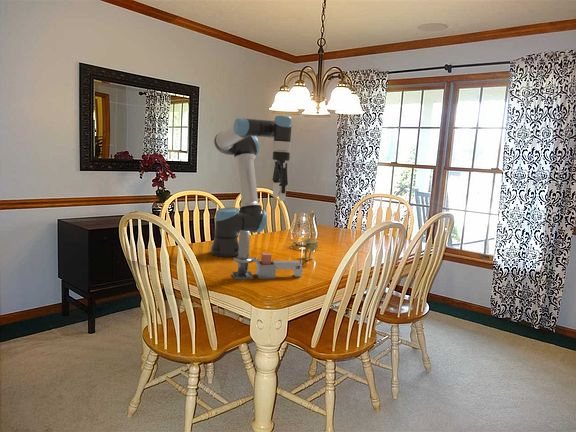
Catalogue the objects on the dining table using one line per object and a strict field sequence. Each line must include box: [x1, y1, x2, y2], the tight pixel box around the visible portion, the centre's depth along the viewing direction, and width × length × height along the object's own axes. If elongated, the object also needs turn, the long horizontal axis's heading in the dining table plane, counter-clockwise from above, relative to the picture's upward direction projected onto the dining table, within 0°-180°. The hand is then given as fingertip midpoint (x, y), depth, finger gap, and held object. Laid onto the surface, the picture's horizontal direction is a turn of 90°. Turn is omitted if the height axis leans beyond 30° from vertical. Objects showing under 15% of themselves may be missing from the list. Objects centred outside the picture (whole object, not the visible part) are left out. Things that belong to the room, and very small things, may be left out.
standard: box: [231, 230, 260, 281], centre depth 192 cm, size 8×10×20 cm
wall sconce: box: [298, 210, 319, 262], centre depth 226 cm, size 14×10×25 cm
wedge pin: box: [260, 252, 272, 265], centre depth 195 cm, size 4×4×10 cm
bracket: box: [255, 260, 303, 280], centre depth 197 cm, size 7×20×6 cm, turn 104°
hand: (278, 198), depth 204 cm, fingers open, 13 cm apart
